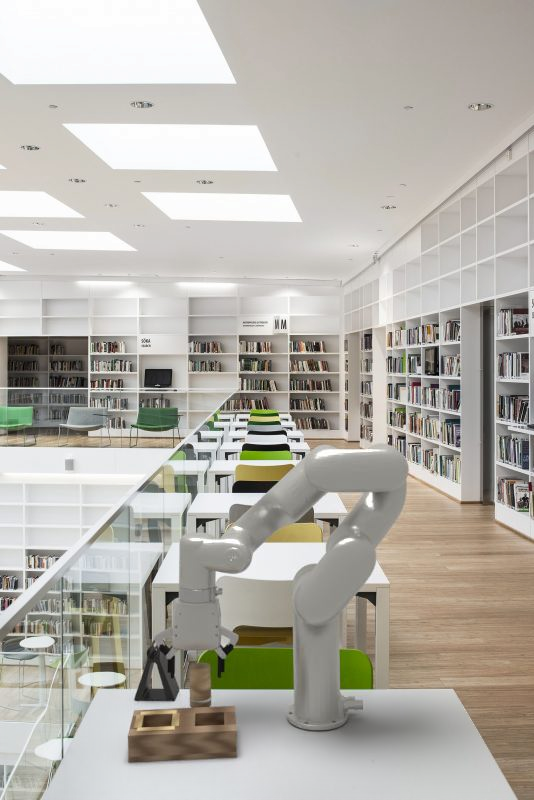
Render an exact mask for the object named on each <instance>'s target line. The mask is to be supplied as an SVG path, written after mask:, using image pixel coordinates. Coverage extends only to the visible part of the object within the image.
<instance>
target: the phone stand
mask: <svg viewBox="0 0 534 800" xmlns="http://www.w3.org/2000/svg"><path fill="white" fill-rule="evenodd" d="M163 642H164V644H166V642H165V639H163ZM155 644H156V642H155V640H154V639H153V640H152V642H151V643H150V645H149V646H148V648H147V650H146V663H145V666H144V669H143V672H142V674H141V678H140V681H139V684H138V687H137V689H136V693H135V695H134V698H133V700H134V701H135V702H175V700H176V698H177V696H178V693H179V691H180V687H179V684H178V681H177V678H176V676H175V675H174V678H171V673H168V659H167V658H166V656H165V655H164V654H163V653H162V652H161V651H160V650H159V647H158V646H157V644H156V645H155ZM154 645H155V646H154ZM154 664H155V665H156V668H157V671H158V674H159V677H160V681H161V684H162V688H153V687H152V688H151V687H149V685H150V681H151V677H152V672H153V668H154Z"/></svg>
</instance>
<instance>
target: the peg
mask: <svg viewBox="0 0 534 800" xmlns="http://www.w3.org/2000/svg"><path fill="white" fill-rule="evenodd" d="M188 671H189V672H188V673H189V674H188V677H189V706H190V707H189V708H196V707H212V680H211V679H212V676H211V675H212V673H211V664H210V663H207V662H195V663H192V664H190V665H189V667H188Z"/></svg>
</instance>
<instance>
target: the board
mask: <svg viewBox="0 0 534 800" xmlns="http://www.w3.org/2000/svg"><path fill="white" fill-rule="evenodd" d="M236 721H237V718H236V706H235V705H223V706H221V705H220V706H219V705H217V706H210V707H196V708H192V707H179V708H178V707H175V708H155V709H134V710H133V714H132V718H131V721H130V726H129V730H128V734H127V753H128V754H127V756H128V763H143V762H164V761H165V762H166V761H182V760H183V761H184V760H185V761H186V760H188V761H189V760H203V759H206V760H207V759H209V760H210V759H225V758H237V757H238V755H237V753H238V751H237V750H238V749H237V745H238V744H237V743H238V742H237V722H236Z"/></svg>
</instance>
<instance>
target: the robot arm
mask: <svg viewBox="0 0 534 800" xmlns="http://www.w3.org/2000/svg"><path fill="white" fill-rule="evenodd" d="M409 471H410V468H409V463H408V460H407V459H406V457H405V455H404V454H403V453H402V452H401V451H399V449H397V448H396V447H394V446H393V445H390V444H387V443H381V442H380V443H376V444H375V443H374V444H372V445H371V446H369V447H368V448H361V449H359V448H357V449H355V448H354V449H353V448H351V449H350V448H349V449H348V448H344V449H343V448H338V447H336V446H333V445H329V444H322V445H321V444H320V445H318V446H316V447H314V448H313V449H312V450H310V451H309V452H308V453H307V454H306V455H305V456H304V457H302V459H301V460H299V462H298V463H296V464H295V465H294V467H292V469H290V470H289V471H288V472H286V474H285V475H284V476H282V478H281V479H280V480H279V481H278V482H277V483H276V484H274V485H273V486H272V487H271V488H270V489H269V490H268V491H267V492H266V493H265V494H263V496H262V497H261V498H260V499H259V500H258V501H257V502H255V503H253V505H252V506H251V507H250V508H249V509H247V511H246V512H244V513H243V514H242V515H241V516H240V517H239V518H238V519H237V520H236V521H235V522H234V523H233V524H231V525H230V526H229V527H228V528H227V530H225V531H224V533H223V534H222V535H221V537H219V538H215V536H214V535H213V534H212V533H207V532H201V531H200V532H198V531H197V532H189V533H185V534H183V535H182V536H181V537H180V540H179V545H178V547H179V550H178V551H179V556H178V557H179V560H178V562H179V563H178V565H179V567H178V570H179V571H178V575H179V576H178V597H177V598H175V600H174V605H173V610H172V611H173V612H172V613H173V614H172V625H171V626H170V627H168V628H166V629H164V630H162V631H161V632H158V633H156V634H155V635H154V637H153V640H155V644H156V645H157V646H158V647H159V650H160V651H161V652H162V653H163V654H164V655H165V656H166V658H167V659H168V673H171V678H174V676H175V674H176V653H177V652H178V651H215V652H216V655H217V678H218V679H221V678H222V673H225V671H226V670H225V665H226V662H225V661H226V658H227V656H228V655H229V654H230V653H231V652H232V651H233V650H234V648H235V647H236V644H237V643H238V641H239V638H240V637H239V634H237V633H236V632H234V631H232V630H230V629H227V628H225V627H224V626H223V625H222V613H221V603H220V599H219V598H218V597H217V596H222V595H223V588H222V587H218V586H217V585H216V582H217V581H216V580H217V579H216V578H217V577H216V575H217V572H218V573H221V574H223V573H224V574H228V575H236V574H237V575H239V574H241V573H243V572H245V571H246V570H248V568H249V567H250V565H251V563H252V561H253V555H254V553H255V552H256V551H257V550H258V548H260V547H261V546H262V545H263V544H264V543H265V542H266V541H267V540H269V538H270V537H272V536H273V535H274V534H275V533H277V532H278V531H279V530H280V529H282V528H285V527H287V526H289V525H293V524H295V523H297V521H299V520H301V518H303V516H305V515H306V514H307V513H308V512H309V511H310V510H311V509H312V508H313V507H314V506H315V505H316V504H317V503H318V502H319V501H320V500H321V499H322V498H324V497H325V496H326V495H327V494H328V493H362V495H361V497H360V498H359V499H358V501H357V502H356V503H355V505H354V507H353V508H352V510H350V512H349V513H348V514H347V515H346V517H344V519H343V520H342V521H341V522H340V524H339V525H338V526H337V527H336V528H335V529H334V530H333V532H331V534H330V535H329V536H328V538H327V540H326V543H325V553H324V555H323V556H322V557H321V558H320V560H319V561H318V562H317V563H309V564H305V565H304V566H302V567H301V568H299V570H297V572H296V573H295V575H294V577H293V579H292V582H291V583H292V584H291V603H292V604H291V605H292V606H291V607H292V610H291V611H292V640H293V641H292V646H293V647H292V648H293V649H292V651H293V652H292V653H293V654H292V655H293V656H292V657H293V660H292V662H293V704H291V706H289V707H288V709H287V710H286V719H287V721H288V722H289V723H290V724H291V725H293V726H295V727H297V728H300V729H303V730H309V731H328V730H333V729H336V728H337V729H338V728H339V727H342V726H343V725H344V724H346V722H347V721H348V719H349V710H354V711H356V710H357V711H359V710H360V711H361V710H364V701H363V699H356V697H355V696H354V695H351V696H349V695H348V696H344V695H342V693H341V681H340V679H341V678H340V677H341V676H340V675H341V671H340V670H341V669H340V667H341V665H340V616H339V615H340V614H342V611H344V610H345V608H346V607H347V606H348V604H349V603H350V602H351V601H352V600H353V598H355V596H356V595H357V594H358V593H359V591H360V590H361V589H362V588H363V586H364V585H365V584H366V583H367V581H368V580H369V578H370V577H371V576H372V573H373V571H374V569H375V566H376V564H377V552H376V549H377V547H378V546H379V544H381V542H382V541H383V539H384V538H385V537H386V535H387V534H388V533H389V531H391V530H390V529H392V527H393V526H394V525H395V523H396V522H397V520H398V518H399V517H400V515H401V513H402V511H403V509H404V506H405V504H406V503H405V502H406V497H407V492H408V491H407V489H408V488H407V487H408V483H407V478H408V476H409ZM170 636H171V645H170V647H168V646H167V645H166V643H165V644H164V642H163V640H165V639H166V638H168V637H170ZM222 636H224V637H225V638H227V639H229V642H228V643H227V644H226V645H225V646H223V645H222Z"/></svg>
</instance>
